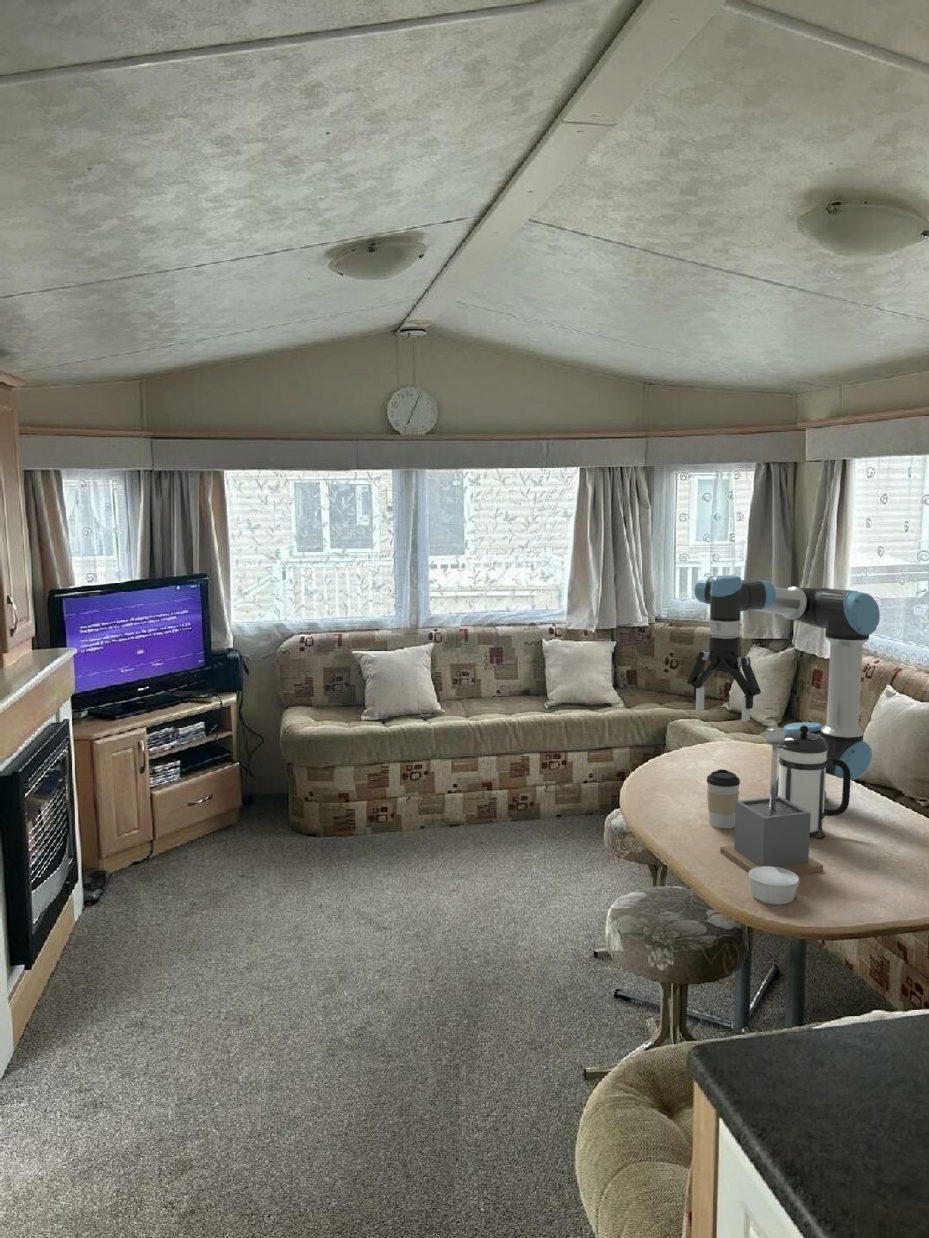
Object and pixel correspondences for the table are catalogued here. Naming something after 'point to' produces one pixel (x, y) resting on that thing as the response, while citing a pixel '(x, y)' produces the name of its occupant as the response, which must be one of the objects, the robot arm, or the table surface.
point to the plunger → (773, 777)
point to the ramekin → (773, 884)
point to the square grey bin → (772, 839)
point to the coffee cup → (722, 798)
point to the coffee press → (809, 776)
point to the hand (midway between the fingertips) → (722, 716)
